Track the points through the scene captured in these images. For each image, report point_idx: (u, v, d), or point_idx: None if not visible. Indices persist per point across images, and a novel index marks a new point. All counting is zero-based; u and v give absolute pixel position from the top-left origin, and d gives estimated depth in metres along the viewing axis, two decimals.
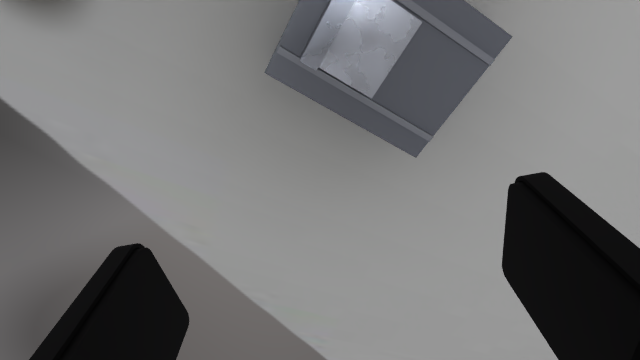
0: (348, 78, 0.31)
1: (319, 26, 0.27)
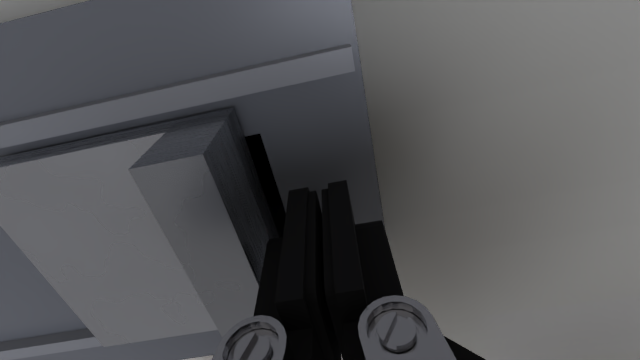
0: (66, 171, 0.09)
1: (246, 268, 0.08)
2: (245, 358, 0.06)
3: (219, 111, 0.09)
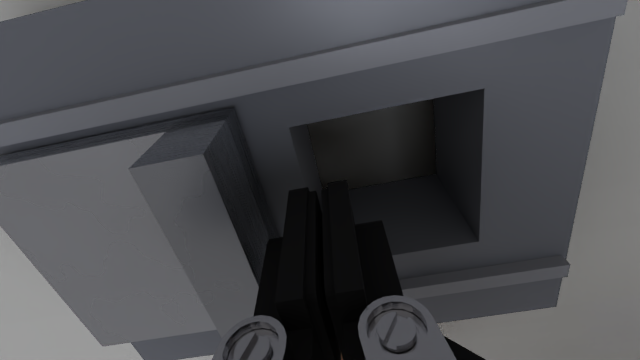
0: (65, 170, 0.09)
1: (246, 268, 0.08)
2: (245, 358, 0.06)
3: (219, 111, 0.09)
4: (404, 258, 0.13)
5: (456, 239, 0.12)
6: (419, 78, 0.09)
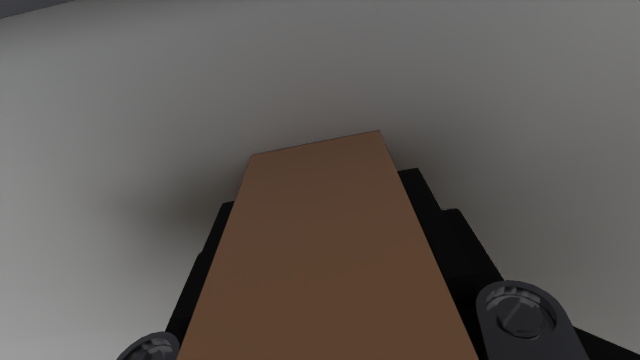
0: None
1: None
2: None
3: None
4: None
5: None
6: None
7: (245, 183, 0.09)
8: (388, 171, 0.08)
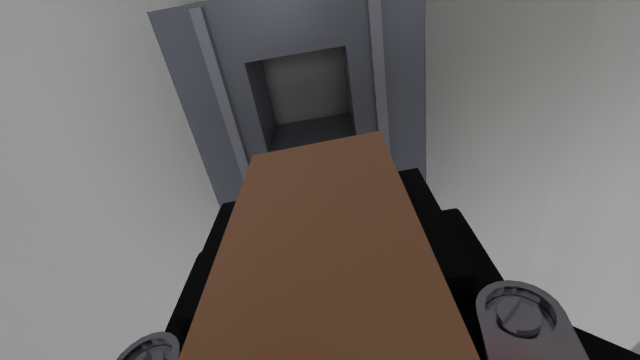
0: None
1: None
2: None
3: None
4: (355, 93, 0.20)
5: (346, 58, 0.19)
6: (241, 96, 0.20)
7: (246, 183, 0.09)
8: (389, 172, 0.08)
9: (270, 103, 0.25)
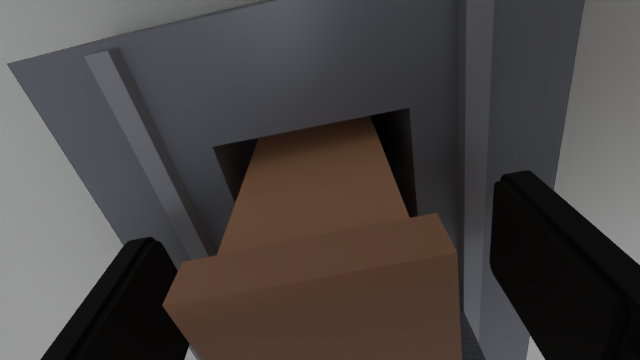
0: None
1: None
2: None
3: None
4: (423, 188, 0.10)
5: (408, 127, 0.10)
6: (212, 201, 0.11)
7: None
8: None
9: None
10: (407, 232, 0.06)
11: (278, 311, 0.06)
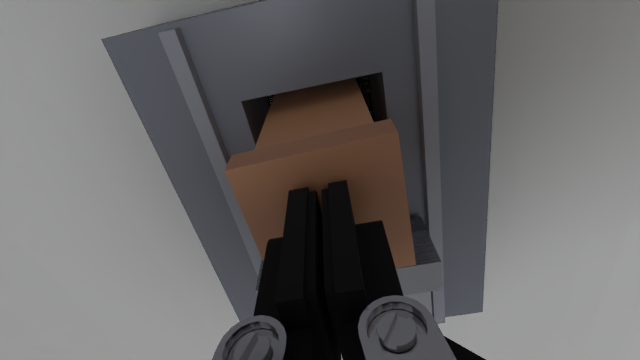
0: None
1: None
2: (245, 358, 0.06)
3: None
4: None
5: (382, 87, 0.14)
6: (239, 144, 0.14)
7: (276, 95, 0.17)
8: (352, 81, 0.16)
9: None
10: (371, 127, 0.09)
11: (294, 175, 0.09)
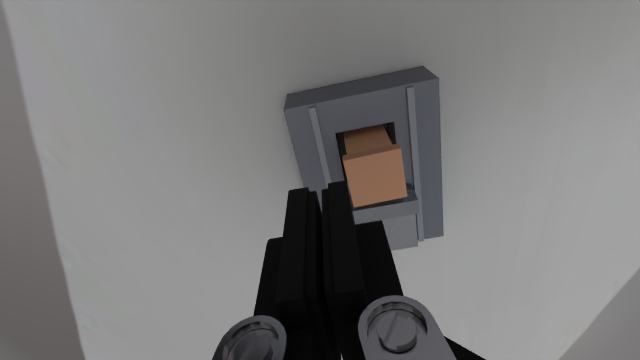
0: None
1: (371, 208, 0.33)
2: (245, 358, 0.06)
3: None
4: None
5: (394, 127, 0.32)
6: (331, 151, 0.33)
7: None
8: None
9: None
10: (392, 146, 0.28)
11: (366, 162, 0.28)
